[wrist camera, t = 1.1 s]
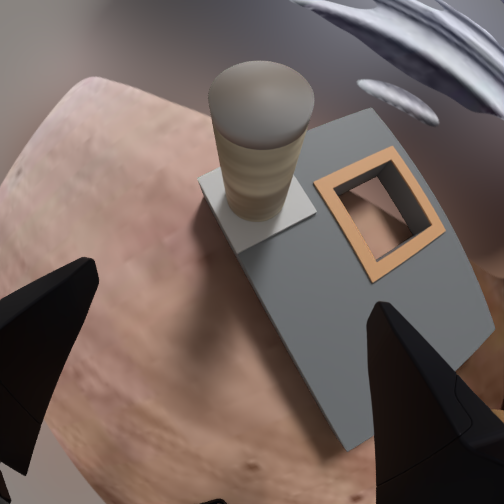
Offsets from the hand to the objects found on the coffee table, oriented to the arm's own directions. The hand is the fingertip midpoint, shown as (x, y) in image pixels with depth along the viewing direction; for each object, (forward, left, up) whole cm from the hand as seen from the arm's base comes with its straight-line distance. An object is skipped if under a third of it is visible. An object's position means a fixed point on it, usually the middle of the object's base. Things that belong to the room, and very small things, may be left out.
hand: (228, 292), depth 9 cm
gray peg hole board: (-2, -9, -13) cm, 16 cm away
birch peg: (+6, -4, -10) cm, 12 cm away
